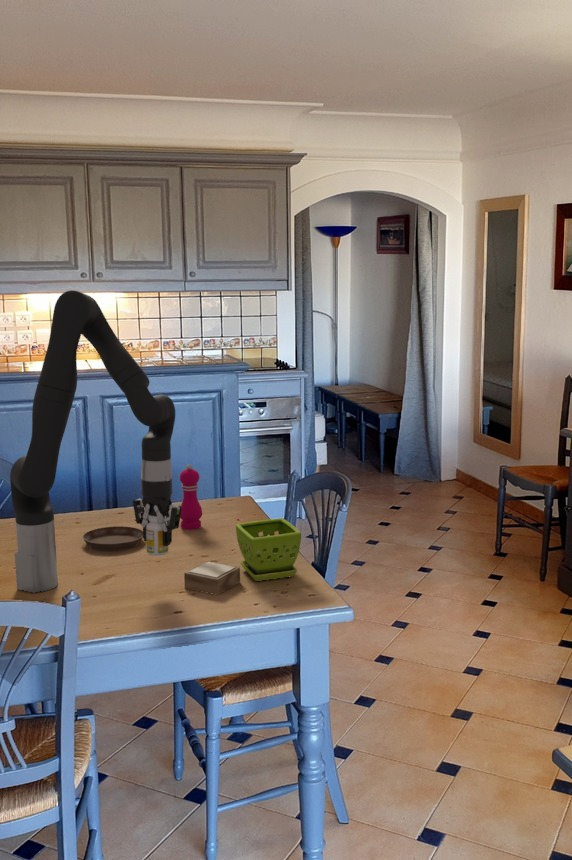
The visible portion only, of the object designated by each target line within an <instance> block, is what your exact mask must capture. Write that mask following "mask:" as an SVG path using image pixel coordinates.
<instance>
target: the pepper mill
mask: <svg viewBox="0 0 572 860" xmlns="http://www.w3.org/2000/svg"><path fill="white" fill-rule="evenodd" d="M199 480H200V474H199V471H197V470H196V469H195V468H193V465H192V464H190V463H189V464H186V468H185V469H183V470H182V471H181V472H180V474H179V481H180V483H181V490H182V493H183V498H182V501H181V504H180V506H181V508H182V509H181V516H180V529H183V530H186V531H188V530H189V531H192V530H193V531H194V530H199V529H200V528H201V527H202V521H201V520H200V519H201V518H202V516H203V509H202V506H201V504H200V502H199V500H198V494H197V492H198V491H197V490H198V489H199V487H198V486H199V484H198V482H199ZM198 528H199V529H198Z"/></svg>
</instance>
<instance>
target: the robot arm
mask: <svg viewBox="0 0 572 860" xmlns="http://www.w3.org/2000/svg"><path fill="white" fill-rule="evenodd" d="M52 313H53V314H52V320H51V327H50V334H49V340H48V344H47V348H46V352H45V356H44V360H43V363H42V367H41V371H40V374H39V377H38V381H37V385H36V389H35V392H34V396H33V401H32V410H31V411H32V412H31V414H32V415H31V419H32V420H31V424H32V425H31V439H30V443H29V445H28V449H27V453H26V455H23V456H21V457H19V458H18V459H16V460H15V462H14V463H13V464H12V466H11V469H10V472H9V473H10V474H9V475H10V476H9V480H10V481H9V482H10V491H11V492H10V494H11V503H12V508H13V513H14V518H15V531H16V532H15V533H16V545H17V551H16V552H15V553H14V565H15V578H16V579H15V580H16V590H18V589H19V590H20V591H22V590H24V591H23V592H26V591H28V592H27V593H30V592H33V593H32V594H36V593H35V592H37V593H40V591H41V592H45V591H46V592H47V591H50V590H52V588H53V589H55V588H56V587H58V585H59V582H58V581H59V580H58V565H57V563H58V562H57V546H56V545H57V544H56V529H55V511H54V507H53V505H52V503H51V499H50V490H51V489H52V488H53V485H54V483H55V480H56V477H57V469H58V463H59V462H58V461H59V455H60V450H61V449H60V448H61V445H62V441H63V438H64V434H65V431H66V428H67V425H68V420H69V417H70V413H71V410H72V407H73V403H74V401H75V395H76V391H77V386H78V368H77V366H78V365H77V352H78V346H79V342H80V339H81V336H83V337H84V338H85V339H86V340H87V341H88V342H89V343H90V344H91V345H92V347H93V348H94V349H95V350H96V353H98V355H99V357H100V359H101V362H102V363H103V365H104V367H105V370H106V371H107V373H108V374H109V376H110V377H111V378H112V380H113V381H114V382H115V384H116V385H117V386H118V387H119V389H120V390H121V392H122V393H123V394H124V396H125V398H126V401H127V403H128V405H129V407H130V409H131V412H132V414H133V415H134V416H135V418H136V419H137V421H139V422H140V423H141V425H143V426H146V427H148V432H147V433H146V434H145V435H144V436H143V437H142V439H141V464H140V483H141V484H140V488H141V490H140V493H141V496H142V498H137V499H135V500H134V499H133V501H132V505H133V512H134V516H135V517H134V518H135V523H136V524H138V525H139V524H140V525H141V527H142V531H143V538H142V539H143V541H144V542H145V543H146V525H147V524H148V523H150V521H149V515H152V516H157V517H158V520H159V522H160V523H161V524H162V528H163V530H164V531H163V546H168V547H169V546H170V545H171V544H172V541H173V530H176V529H178V528H180V527H179V526H180V523H181V518H180V516H181V509H182V508H181V505H175V504H173V503H172V500H171V498H172V495H173V467H172V459H171V458H172V454H171V453H172V452H171V451H172V450H171V449H172V447H171V445H172V444H171V441H172V436H173V432H174V426H175V421H176V407H175V404H174V401H173V399H172V398H170V397H169V396H168V395H166V394H156V395H152V393H151V391H150V390H149V385H150V379H149V377H148V375H147V374H146V372H145V371H144V370H143V369H142V367H141V366H140V365H139V364H138V362H137V361H136V360H135V358H134V357H133V356H132V355H131V354H130V352H129V351H128V350H127V348H125V346H124V345H123V343H122V342H121V341H120V339H119V338H118V337H117V336H116V334H115V332H114V331H113V329H112V327H111V325H110V324H109V321H108V320H107V319H106V316H105V314H104V313H103V310H102V309H101V307H100V305H99V303H98V302H97V300H95V298H93V297H92V296H90V295H88V294H86V293H83V292H82V291H80V290H75V289H69V290H66V291H64V292H62V294H60V296H59V297H58V298H57V300H56V302H55V304H54V309H53V312H52ZM163 517H165V519H164V518H163ZM166 523H167V524H166ZM167 525H168V526H167Z"/></svg>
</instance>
